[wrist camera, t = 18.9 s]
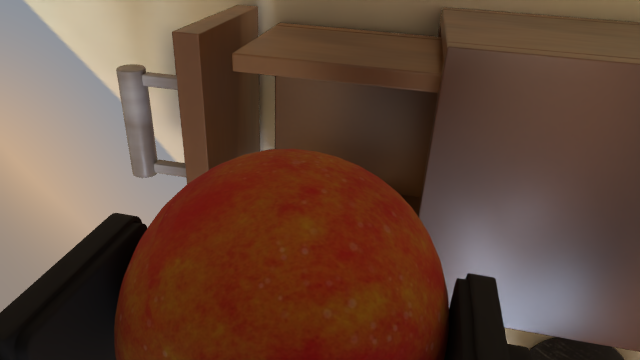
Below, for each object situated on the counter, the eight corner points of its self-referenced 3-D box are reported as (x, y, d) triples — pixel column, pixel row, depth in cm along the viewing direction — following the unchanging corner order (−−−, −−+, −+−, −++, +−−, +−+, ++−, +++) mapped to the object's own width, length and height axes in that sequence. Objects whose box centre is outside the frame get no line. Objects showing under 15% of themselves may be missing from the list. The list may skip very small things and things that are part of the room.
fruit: (305, 343, 16) (208, 657, 9) (161, 189, 14) (-93, 432, 7) (495, 258, 13) (565, 629, 6) (341, 50, 11) (196, 240, 4)
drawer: (178, 174, 33) (112, 238, 26) (159, -2, 27) (70, 21, 21) (448, 213, 30) (454, 296, 23) (487, 25, 25) (509, 63, 18)
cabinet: (410, 208, 31) (402, 310, 23) (442, 6, 25) (447, 46, 17) (651, 243, 29) (739, 369, 21) (749, 31, 23) (927, 90, 15)
